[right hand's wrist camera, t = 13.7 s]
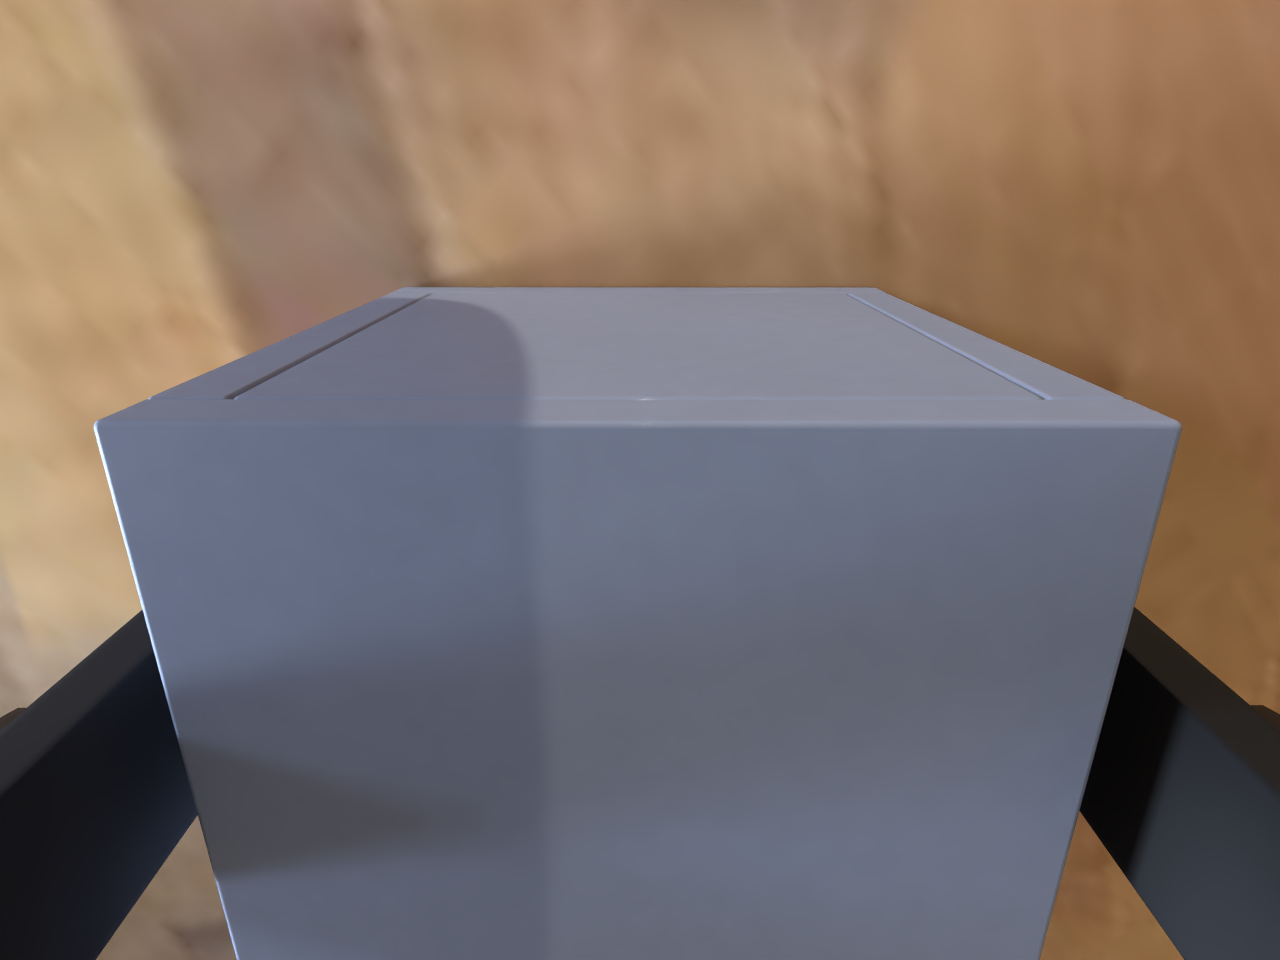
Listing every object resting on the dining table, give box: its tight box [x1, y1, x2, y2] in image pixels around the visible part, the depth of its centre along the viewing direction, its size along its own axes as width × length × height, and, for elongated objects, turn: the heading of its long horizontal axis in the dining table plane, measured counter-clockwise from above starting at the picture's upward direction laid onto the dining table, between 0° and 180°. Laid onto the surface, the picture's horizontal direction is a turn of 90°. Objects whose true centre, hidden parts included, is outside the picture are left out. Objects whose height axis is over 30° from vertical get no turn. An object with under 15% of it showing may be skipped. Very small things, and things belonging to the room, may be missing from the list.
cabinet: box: [94, 287, 1182, 960], centre depth 16 cm, size 19×11×10 cm, turn 0°
